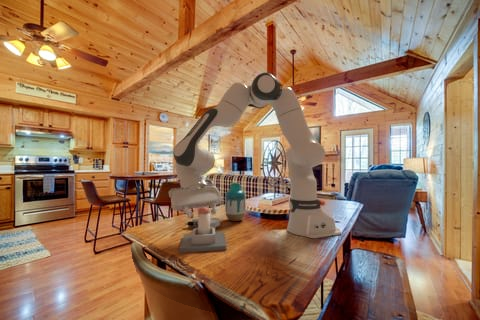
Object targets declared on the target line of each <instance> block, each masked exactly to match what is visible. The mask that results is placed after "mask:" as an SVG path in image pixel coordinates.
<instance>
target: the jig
mask: <svg viewBox="0 0 480 320" xmlns="http://www.w3.org/2000/svg"><path fill="white" fill-rule="evenodd" d="M225 234H226V233H225V231H217V232H216V228H213V227H210V234H202V235H198V228H197V227H195V228H193V229H192V232H191V233H184V235H183V237H182V240H181V242H180V245H179V249H178V253H179V254H180V253H181V254H183V253H184V254H185V253H196V252H197V253H198V252H200V253H201V252H212V251H213V252H214V251H215V252H217V251H227V241H226V235H225Z"/></svg>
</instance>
